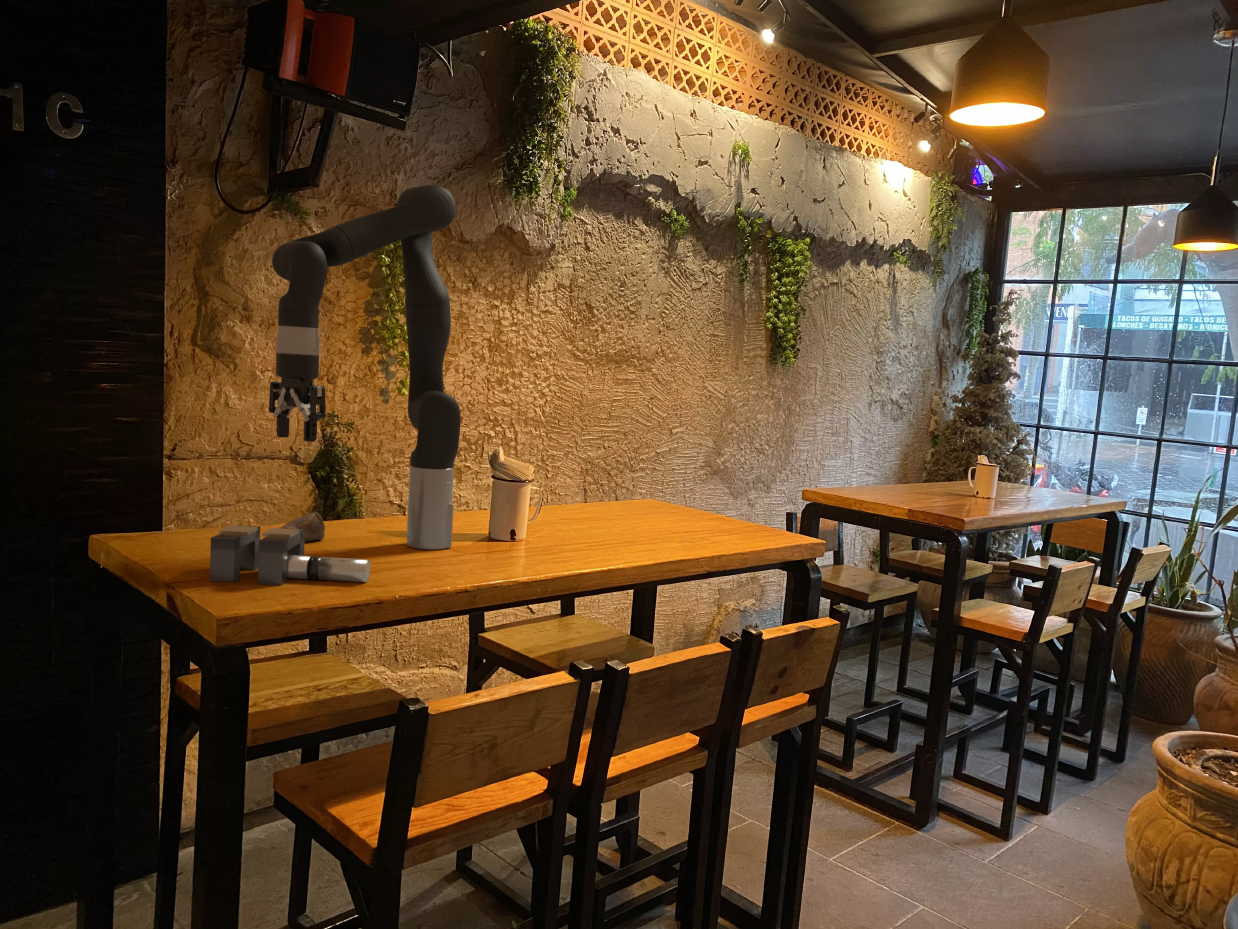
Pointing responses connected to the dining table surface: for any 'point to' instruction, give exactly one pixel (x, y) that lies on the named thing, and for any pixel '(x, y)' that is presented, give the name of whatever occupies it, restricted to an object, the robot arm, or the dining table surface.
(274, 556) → the grey u-shaped stands
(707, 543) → the dining table surface
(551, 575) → the dining table surface
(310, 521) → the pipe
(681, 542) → the dining table surface
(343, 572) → the tube
